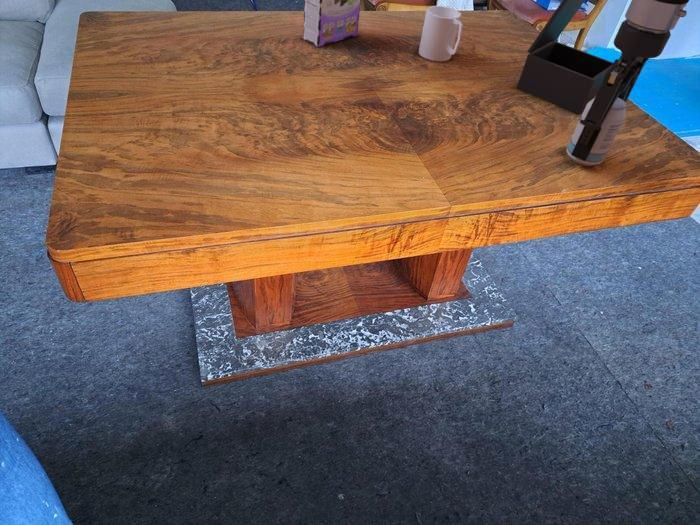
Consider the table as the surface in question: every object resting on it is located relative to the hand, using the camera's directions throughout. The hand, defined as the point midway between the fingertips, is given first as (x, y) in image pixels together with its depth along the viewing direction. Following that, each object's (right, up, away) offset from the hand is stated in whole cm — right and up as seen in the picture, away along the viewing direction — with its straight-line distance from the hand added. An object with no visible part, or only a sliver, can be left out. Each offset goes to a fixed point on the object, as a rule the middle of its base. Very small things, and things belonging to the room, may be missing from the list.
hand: (586, 150), depth 96 cm
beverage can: (0, -2, +2) cm, 2 cm away
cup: (-23, +30, +30) cm, 48 cm away
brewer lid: (+2, +32, +13) cm, 35 cm away
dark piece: (+4, +18, +22) cm, 29 cm away
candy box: (-50, +35, +32) cm, 69 cm away
